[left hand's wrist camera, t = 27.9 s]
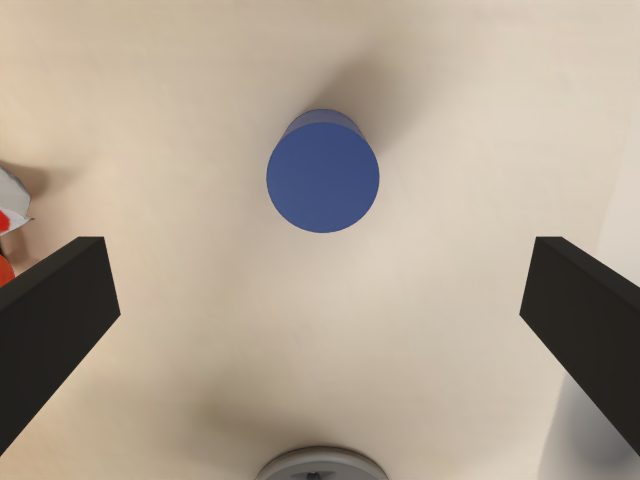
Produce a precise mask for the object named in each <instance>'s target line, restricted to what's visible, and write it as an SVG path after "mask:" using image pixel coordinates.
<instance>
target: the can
mask: <svg viewBox="0 0 640 480" xmlns="http://www.w3.org/2000/svg"><path fill="white" fill-rule="evenodd" d="M266 180H267V188H268V192H269V195H270V198H271V200H272V202H273V204H274V206H275V208H276V209H277V210H278V212H279V213H280V214H281V215H282V216H283V217H284V218H285V219H286V220H287V221H289V222H290V223H292V224H293V225H295V226H297V227H299V228H301V229H304V230H307V231H311V232H317V233H329V232H335V231H339V230H342V229H345V228H347V227H349V226H351V225H353V224H354V223H356V222H357V221H358V220H360V219H361V218H362V217H363V216H364V215H365V214H366V213H367V211H368V210H369V209H370V207H371V205H372V204H373V202H374V200H375V197H376V195H377V191H378V187H379V168H378V164H377V160H376V158H375V155H374V153H373V151H372V149H371V148H370V146H369V144H368V143H367V141H366V140H365V138H364V136H363V135H362V133H361V132H360V130H359V128H358V127H357V126H356V125H355V123H354V122H353V121H352V120H351V119H349V118H348V117H347V116H345V115H343V114H342V113H339V112H337V111H333V110H328V109H318V110H312V111H309V112H307V113H304V114H302V115H301V116H299V117H298V118H296V119H295V120H294V121H293V122H292V123H291V124H290V126H289V127H288V128H287V130H286V132H285V133H284V135H283V136H282V138H281V140H280V141H279V143H278V144H277V146H276V148H275V149H274V151H273V153H272V155H271V157H270V160H269V163H268V168H267V179H266Z"/></svg>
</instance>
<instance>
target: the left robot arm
mask: <svg viewBox="0 0 640 480" xmlns="http://www.w3.org/2000/svg"><path fill="white" fill-rule="evenodd" d="M120 315H121V314H120V309H119V304H118V300H117V295H116V290H115V286H114V281H113V277H112V272H111V267H110V263H109V258H108V254H107V249H106V244H105V240H104V237H77V238H76V239H74V240H73V241H71V242H70V243H68V244H67V245H65V246H63V247H62V248H60V249H59V250H57V251H56V252H54V253H53V254H51V255H50V256H48V257H47V258H45V259H43V260H42V261H40V262H39V263H37V264H36V265H34V266H33V267H31V268H30V269H28V270H27V271H25V272H23V273H22V274H20V275H19V276H17V277H16V278H14V279H13V280H11V281H10V282H8V283H7V284H5V285H3V286H2V287H0V456H1V455H2V454H3V453H4V452H5V450H6V449H7V448H8V447H9V446H10V445H11V443H12V442H13V441H14V440H15V439H16V437H17V436H18V435H19V434H20V433H21V432H22V430H23V429H24V428H25V427H26V426H27V424H28V423H29V422H30V421H31V420H32V419H33V417H34V416H35V415H36V414H37V413H38V412H39V410H40V409H41V408H42V407H43V406H44V404H45V403H46V402H47V401H48V400H49V399H50V397H51V396H52V395H53V394H54V393H55V391H56V390H57V389H58V388H59V387H60V386H61V384H62V383H63V382H64V381H65V380H66V379H67V377H68V376H69V375H70V374H71V373H72V371H73V370H74V369H75V368H76V367H77V366H78V364H79V363H80V362H81V361H82V360H83V358H84V357H85V356H86V355H87V354H88V353H89V351H90V350H91V349H92V348H93V347H94V346H95V344H96V343H97V342H98V341H99V340H100V338H101V337H102V336H103V335H104V334H105V333H106V331H107V330H108V329H109V328H110V327H111V325H112V324H113V323H114V322H115V321H116V320H117V318H118V317H119V316H120ZM519 315H520V316H521V317H522V318H523V320H524V321H525V322H526V323H527V324H528V325H529V327H530V328H531V329H532V330H533V331H534V333H535V334H536V335H537V336H538V337H539V338H540V340H541V341H542V342H543V343H544V344H545V346H546V347H547V348H548V349H549V350H550V351H551V353H552V354H553V355H554V356H555V357H556V358H557V360H558V361H559V362H560V363H561V364H562V366H563V367H564V368H565V369H566V370H567V371H568V373H569V374H570V375H571V376H572V377H573V379H574V380H575V381H576V382H577V383H578V384H579V386H580V387H581V388H582V389H583V390H584V391H585V393H586V394H587V395H588V396H589V397H590V399H591V400H592V401H593V402H594V403H595V404H596V406H597V407H598V408H599V409H600V410H601V412H602V413H603V414H604V415H605V416H606V417H607V419H608V420H609V421H610V422H611V423H612V424H613V426H614V427H615V428H616V429H617V430H618V431H619V433H620V434H621V435H622V436H623V437H624V439H625V440H626V441H627V442H628V443H629V445H630V446H631V447H632V448H633V449H634V450H635V452H636V453H637V454H638V455H639V456H640V287H638V286H636V285H635V284H633V283H632V282H630V281H629V280H627V279H626V278H624V277H623V276H621V275H620V274H618V273H617V272H615V271H613V270H612V269H610V268H609V267H607V266H606V265H604V264H603V263H601V262H600V261H598V260H597V259H595V258H593V257H592V256H590V255H589V254H587V253H586V252H584V251H583V250H581V249H580V248H578V247H577V246H575V245H573V244H572V243H570V242H569V241H567V240H566V239H564V238H563V237H536V240H535V244H534V249H533V254H532V258H531V263H530V267H529V272H528V277H527V281H526V286H525V290H524V295H523V300H522V304H521V309H520V314H519ZM256 480H388V478H387V477H386V475H385V474H384V472H383V471H382V470H381V469H380V468H379V467H378V466H377V465H376V464H375V463H373V462H372V461H370V460H369V459H367V458H365V457H363V456H361V455H359V454H357V453H354V452H351V451H348V450H344V449H338V448H331V447H312V448H305V449H300V450H296V451H292V452H289V453H287V454H284V455H282V456H280V457H278V458H276V459H275V460H273V461H272V462H270V463H269V464H268V465H267V466H265V467H264V468H263V470H262V471H261V472H260V473H259V475H258V476H257V478H256Z"/></svg>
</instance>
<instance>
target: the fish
mask: <svg viewBox="0 0 640 480" xmlns="http://www.w3.org/2000/svg"><path fill="white" fill-rule="evenodd" d="M30 200H31V196H30V194H29V193H28V191H27V190H26V189H25V187H24V186H23V184H22V183H21V182H20V180H19V179H18V178H16V177H15V176H14V175H12V174H11V173H9V172H8V171H7V170H5V169H4V168H3V167H1V166H0V236H2V235H4V234H6V233H8V232H10V231H12V230H14V229H16V228H18V227H20V226H22V225H23V224H25V223H26V222H28V221H30V220H33V219H34V218H31V217H27V216H26V214H27V210H28V207H29V203H30ZM14 278H15V275H14V272H13V269H12V267H11V265H10V264H9V262H8V261H7V260H6V259H5V258H4V257H3V256H2V255H0V287H2V286H3V285H5V284H7V283H8V282H10V281H11V280H13V279H14Z"/></svg>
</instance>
